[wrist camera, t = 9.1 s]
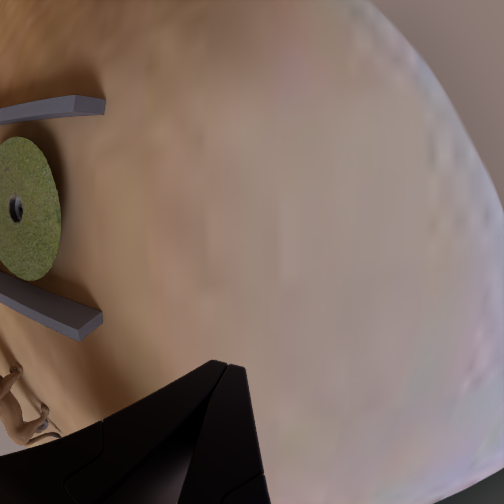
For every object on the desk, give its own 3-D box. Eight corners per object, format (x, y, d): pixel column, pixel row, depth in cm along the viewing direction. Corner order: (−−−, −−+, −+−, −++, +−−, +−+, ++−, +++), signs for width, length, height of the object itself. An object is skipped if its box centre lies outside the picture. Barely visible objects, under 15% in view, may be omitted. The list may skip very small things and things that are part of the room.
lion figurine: (-8, 344, 29) (-53, 377, 20) (5, 337, 27) (-47, 373, 19) (55, 434, 31) (19, 473, 23) (74, 435, 30) (36, 480, 21)
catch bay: (102, 322, 22) (79, 341, 19) (-8, 275, 24) (-28, 285, 22) (105, 99, 17) (75, 94, 14) (-13, 117, 19) (-37, 118, 17)
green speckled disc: (91, 154, 18) (72, 156, 16) (70, 296, 22) (54, 306, 20) (7, 125, 19) (-9, 125, 17) (-5, 242, 23) (-19, 247, 21)
